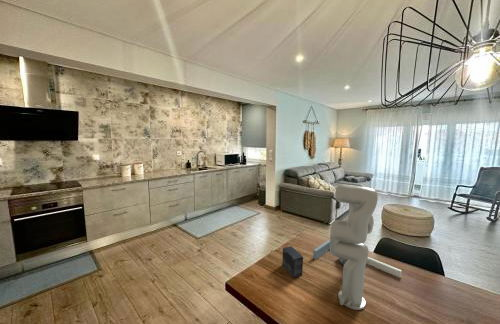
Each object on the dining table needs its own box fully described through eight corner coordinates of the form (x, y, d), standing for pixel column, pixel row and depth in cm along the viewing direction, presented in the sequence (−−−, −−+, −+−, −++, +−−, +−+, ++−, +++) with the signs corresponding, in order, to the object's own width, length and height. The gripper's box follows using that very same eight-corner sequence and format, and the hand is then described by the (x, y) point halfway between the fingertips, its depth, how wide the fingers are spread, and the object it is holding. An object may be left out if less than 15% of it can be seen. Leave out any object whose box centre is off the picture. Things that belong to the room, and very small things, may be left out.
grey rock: (359, 266, 130) (351, 250, 132) (344, 271, 132) (337, 255, 134) (354, 259, 143) (347, 244, 145) (341, 263, 145) (334, 249, 147)
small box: (302, 275, 127) (303, 256, 125) (293, 278, 124) (293, 259, 123) (290, 262, 139) (291, 245, 137) (281, 265, 136) (282, 247, 135)
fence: (389, 295, 111) (390, 285, 110) (313, 258, 144) (313, 250, 143) (401, 276, 126) (402, 267, 125) (329, 246, 159) (330, 238, 159)
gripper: (354, 240, 123) (352, 267, 126) (366, 231, 135) (364, 256, 137) (342, 236, 129) (340, 262, 131) (354, 227, 140) (352, 251, 142)
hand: (352, 259), depth 134 cm, fingers open, 9 cm apart
